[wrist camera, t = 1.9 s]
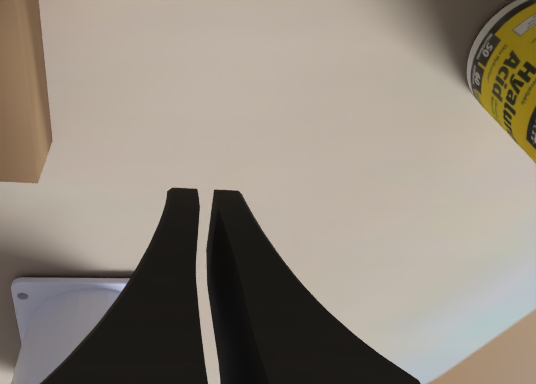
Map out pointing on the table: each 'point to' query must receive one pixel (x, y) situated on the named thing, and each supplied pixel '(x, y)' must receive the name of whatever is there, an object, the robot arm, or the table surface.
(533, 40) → the supplement bottle
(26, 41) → the t block
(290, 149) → the table surface
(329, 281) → the table surface
